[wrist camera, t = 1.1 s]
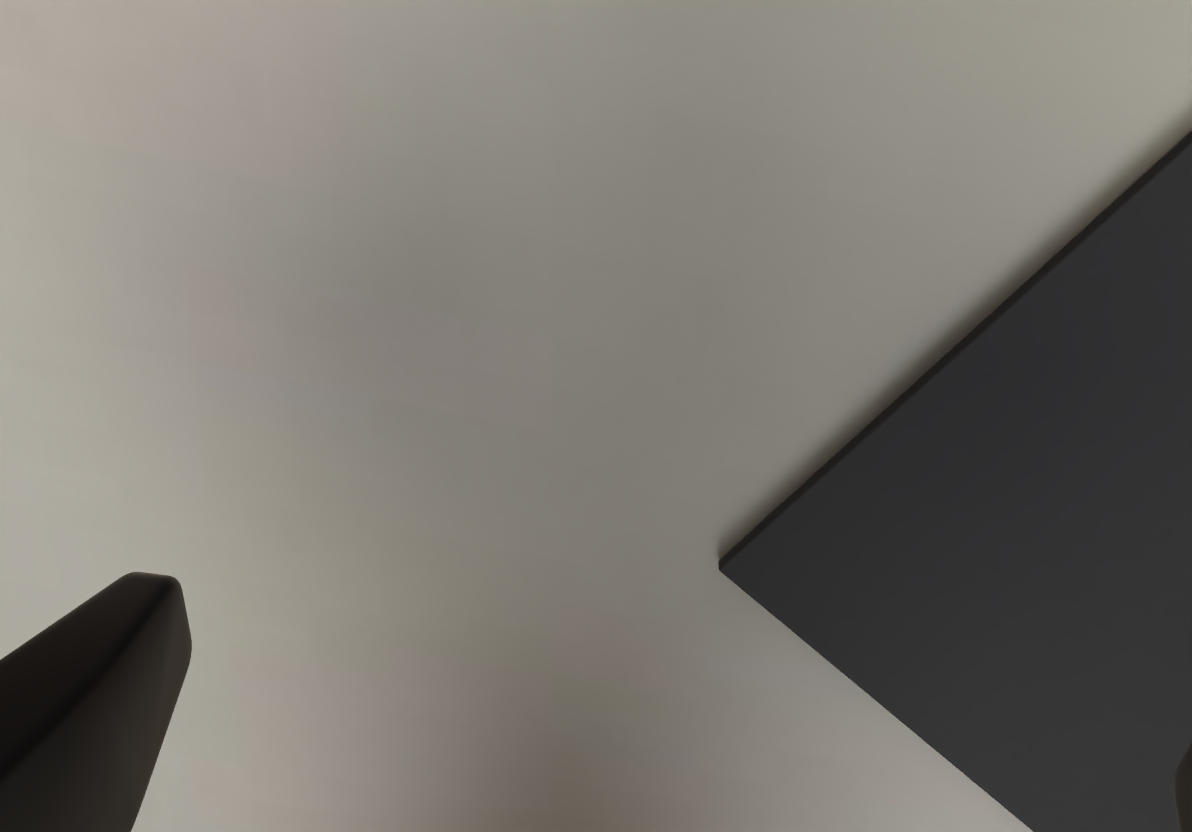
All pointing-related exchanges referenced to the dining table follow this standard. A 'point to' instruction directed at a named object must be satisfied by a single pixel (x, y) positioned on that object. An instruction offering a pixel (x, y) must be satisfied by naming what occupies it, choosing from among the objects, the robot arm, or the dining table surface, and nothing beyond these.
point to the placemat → (1025, 534)
